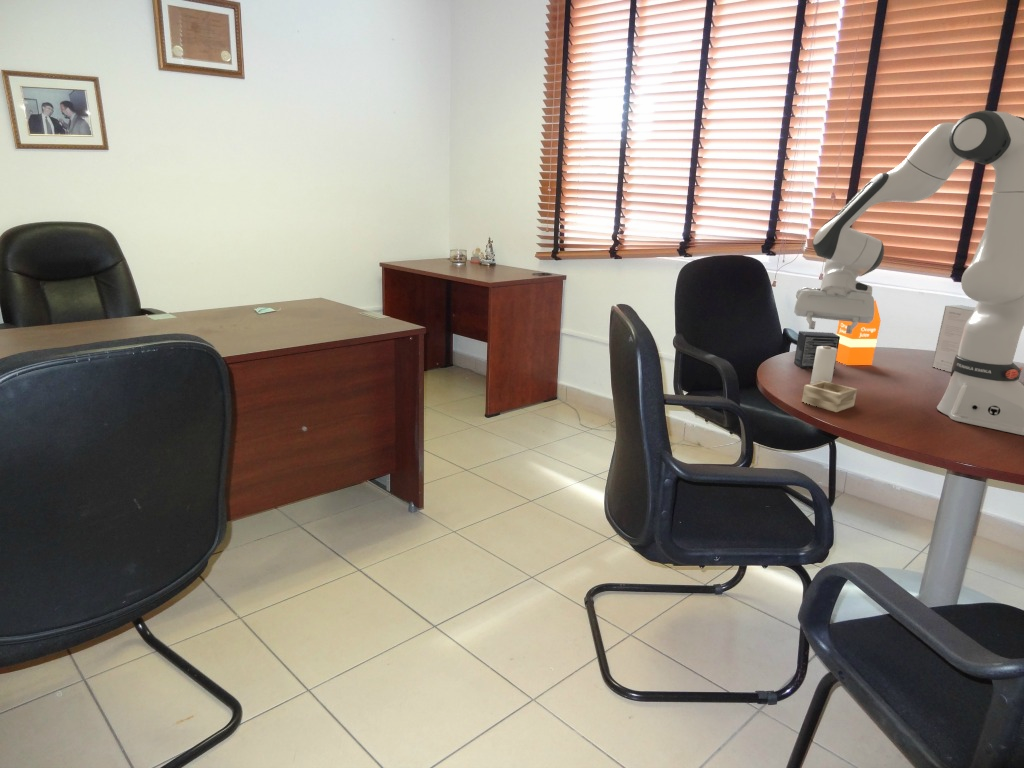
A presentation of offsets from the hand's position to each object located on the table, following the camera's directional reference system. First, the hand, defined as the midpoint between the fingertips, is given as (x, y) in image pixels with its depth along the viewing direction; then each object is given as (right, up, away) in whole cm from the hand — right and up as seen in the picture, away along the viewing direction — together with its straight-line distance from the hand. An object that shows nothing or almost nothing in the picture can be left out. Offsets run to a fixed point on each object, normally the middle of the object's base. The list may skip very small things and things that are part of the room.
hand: (830, 330), depth 182 cm
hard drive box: (+51, -12, +21) cm, 56 cm away
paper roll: (-5, -17, -5) cm, 18 cm away
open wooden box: (-8, -20, -15) cm, 26 cm away
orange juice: (+20, -8, +28) cm, 36 cm away
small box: (+5, -10, +22) cm, 24 cm away
